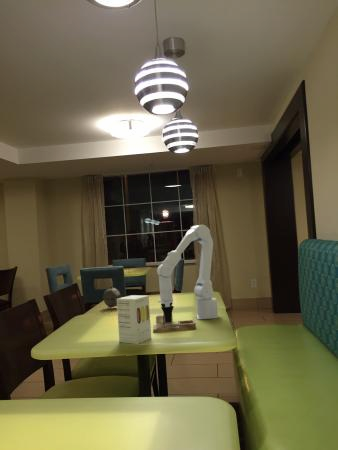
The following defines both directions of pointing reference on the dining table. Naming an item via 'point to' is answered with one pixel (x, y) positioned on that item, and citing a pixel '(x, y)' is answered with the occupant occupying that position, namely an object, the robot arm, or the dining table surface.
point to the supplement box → (134, 319)
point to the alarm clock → (111, 296)
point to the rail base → (172, 325)
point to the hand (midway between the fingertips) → (168, 320)
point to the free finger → (168, 322)
